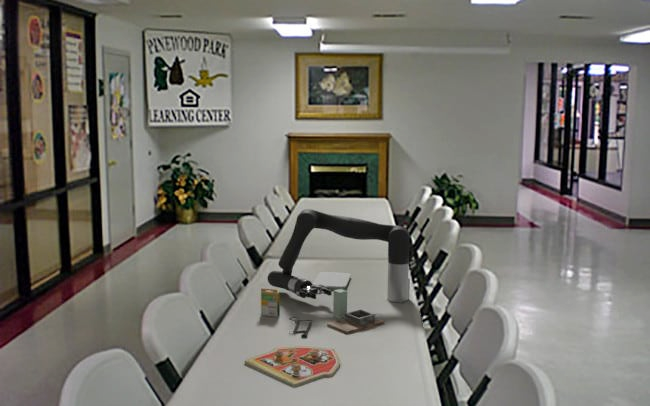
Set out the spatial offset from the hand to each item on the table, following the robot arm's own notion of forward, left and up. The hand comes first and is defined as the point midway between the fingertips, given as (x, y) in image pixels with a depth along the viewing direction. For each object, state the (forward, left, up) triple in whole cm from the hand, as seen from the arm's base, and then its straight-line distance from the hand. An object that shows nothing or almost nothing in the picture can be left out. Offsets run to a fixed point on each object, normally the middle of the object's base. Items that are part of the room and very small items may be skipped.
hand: (323, 294), depth 283 cm
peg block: (0, +11, -7) cm, 13 cm away
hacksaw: (+22, +11, -7) cm, 26 cm away
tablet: (-31, -31, -7) cm, 44 cm away
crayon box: (+22, -8, -7) cm, 24 cm away
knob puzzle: (+43, +41, -7) cm, 60 cm away
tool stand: (+2, +23, -7) cm, 24 cm away
